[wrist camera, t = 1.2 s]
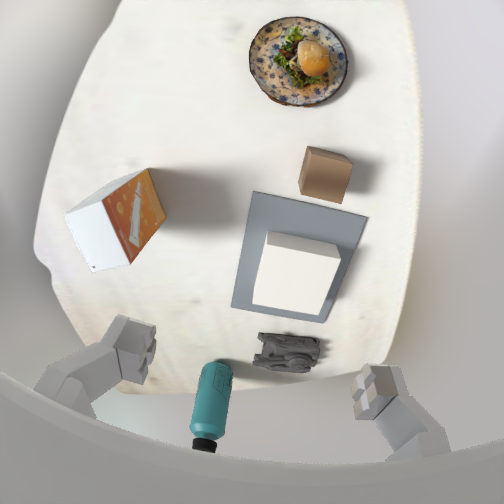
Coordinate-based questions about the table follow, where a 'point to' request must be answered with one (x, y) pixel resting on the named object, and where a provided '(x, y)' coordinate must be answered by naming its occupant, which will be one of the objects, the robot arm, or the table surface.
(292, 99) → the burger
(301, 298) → the white plinth
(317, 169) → the walnut block
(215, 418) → the beverage bottle
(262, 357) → the tank toy
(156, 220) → the small box
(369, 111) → the table surface
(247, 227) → the plain slate board
